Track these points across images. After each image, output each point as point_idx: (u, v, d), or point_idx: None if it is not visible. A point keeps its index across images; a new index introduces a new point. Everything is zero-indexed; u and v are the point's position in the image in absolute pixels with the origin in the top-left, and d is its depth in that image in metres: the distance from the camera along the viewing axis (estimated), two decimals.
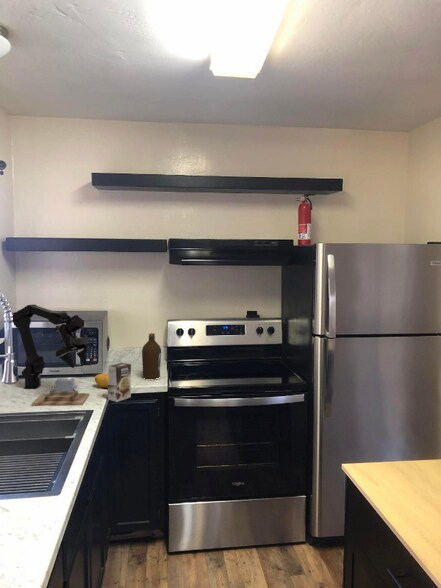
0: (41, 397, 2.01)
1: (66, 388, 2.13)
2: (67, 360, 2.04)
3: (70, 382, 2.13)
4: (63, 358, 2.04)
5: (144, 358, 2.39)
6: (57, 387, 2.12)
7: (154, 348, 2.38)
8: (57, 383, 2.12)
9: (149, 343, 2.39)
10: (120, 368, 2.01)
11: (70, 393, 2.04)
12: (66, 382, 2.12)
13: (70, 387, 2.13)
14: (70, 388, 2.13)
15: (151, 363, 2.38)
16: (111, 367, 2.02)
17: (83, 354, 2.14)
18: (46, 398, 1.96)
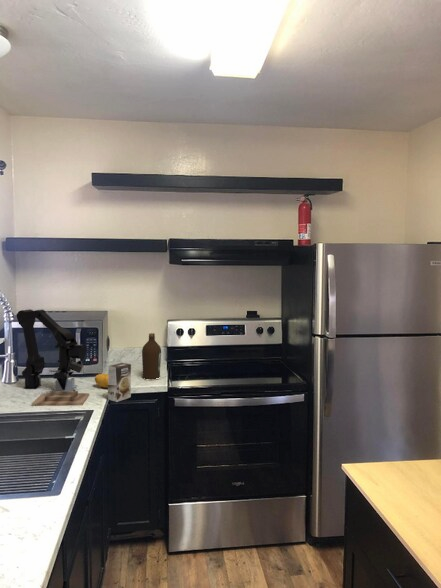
0: (41, 397, 2.01)
1: (66, 388, 2.13)
2: (61, 382, 2.11)
3: (70, 382, 2.13)
4: (59, 379, 2.10)
5: (144, 358, 2.39)
6: (57, 387, 2.12)
7: (154, 348, 2.38)
8: (57, 383, 2.12)
9: (149, 343, 2.39)
10: (120, 368, 2.01)
11: (70, 393, 2.04)
12: (66, 381, 2.12)
13: (70, 387, 2.13)
14: (70, 388, 2.13)
15: (151, 363, 2.38)
16: (111, 367, 2.02)
17: None
18: (46, 398, 1.96)
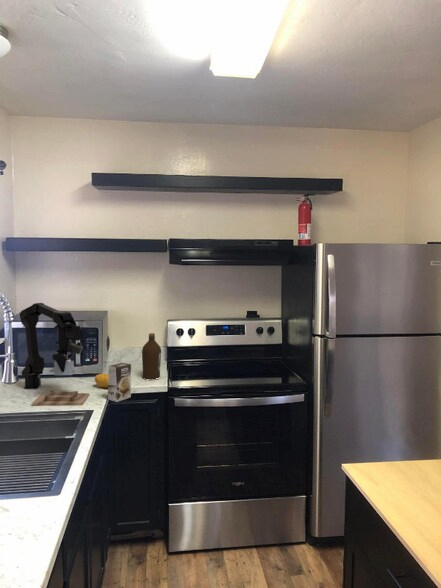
0: (41, 397, 2.01)
1: (65, 370, 2.07)
2: (60, 363, 2.05)
3: (69, 364, 2.07)
4: (58, 360, 2.04)
5: (144, 358, 2.39)
6: (56, 369, 2.06)
7: (154, 348, 2.38)
8: (56, 365, 2.06)
9: (149, 343, 2.39)
10: (120, 368, 2.01)
11: (70, 393, 2.04)
12: None
13: (69, 369, 2.07)
14: (69, 370, 2.07)
15: (151, 363, 2.38)
16: (111, 367, 2.02)
17: None
18: (46, 398, 1.96)
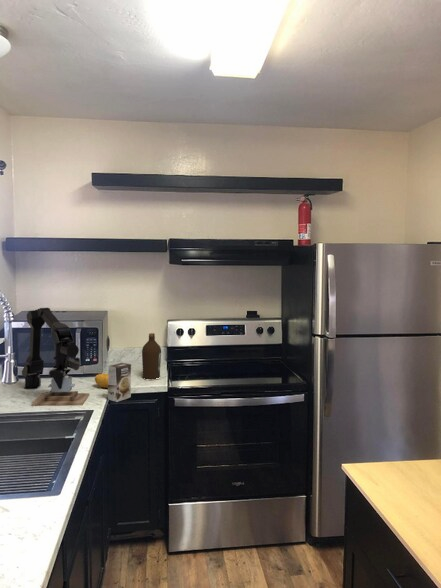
0: (41, 397, 2.01)
1: (63, 387, 1.99)
2: (58, 380, 1.97)
3: (67, 380, 1.99)
4: (55, 377, 1.96)
5: (144, 358, 2.39)
6: (53, 386, 1.98)
7: (154, 348, 2.38)
8: (53, 381, 1.98)
9: (149, 343, 2.39)
10: (120, 368, 2.01)
11: (70, 393, 2.04)
12: None
13: (67, 385, 1.99)
14: (67, 387, 1.99)
15: (151, 363, 2.38)
16: (111, 367, 2.02)
17: None
18: (46, 398, 1.96)
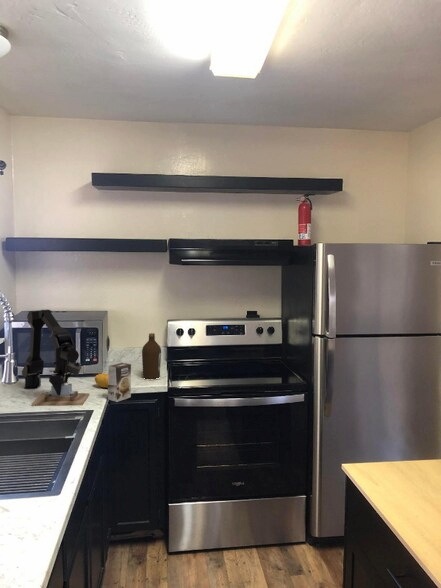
0: (41, 397, 2.01)
1: (63, 394, 1.99)
2: (56, 386, 1.95)
3: (67, 387, 1.99)
4: (53, 383, 1.94)
5: (144, 358, 2.39)
6: (53, 393, 1.98)
7: (154, 348, 2.38)
8: (53, 389, 1.98)
9: (149, 343, 2.39)
10: (120, 368, 2.01)
11: None
12: (62, 387, 1.99)
13: (67, 393, 1.99)
14: (67, 394, 1.99)
15: (151, 363, 2.38)
16: (111, 367, 2.02)
17: (66, 378, 2.06)
18: (46, 398, 1.96)
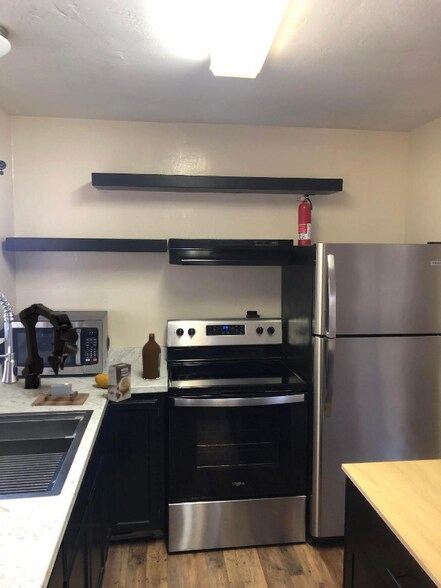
0: (41, 397, 2.01)
1: (63, 394, 1.99)
2: (54, 366, 2.02)
3: (67, 387, 1.99)
4: (51, 363, 2.01)
5: (144, 358, 2.39)
6: (53, 393, 1.98)
7: (154, 348, 2.38)
8: (53, 389, 1.98)
9: (149, 343, 2.39)
10: (120, 368, 2.01)
11: None
12: (62, 387, 1.99)
13: (67, 393, 1.99)
14: (67, 394, 1.99)
15: (151, 363, 2.38)
16: (111, 367, 2.02)
17: (64, 360, 2.13)
18: (46, 398, 1.96)
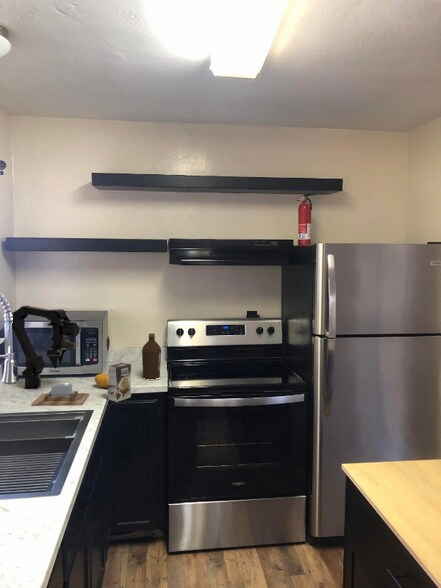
0: (41, 397, 2.01)
1: (63, 394, 1.99)
2: (53, 360, 2.11)
3: (67, 387, 1.99)
4: (50, 357, 2.10)
5: (144, 358, 2.39)
6: (53, 393, 1.98)
7: (154, 348, 2.38)
8: (53, 389, 1.98)
9: (149, 343, 2.39)
10: (120, 368, 2.01)
11: None
12: (62, 387, 1.99)
13: (67, 393, 1.99)
14: (67, 394, 1.99)
15: (151, 363, 2.38)
16: (111, 367, 2.02)
17: (62, 354, 2.21)
18: (46, 398, 1.96)
